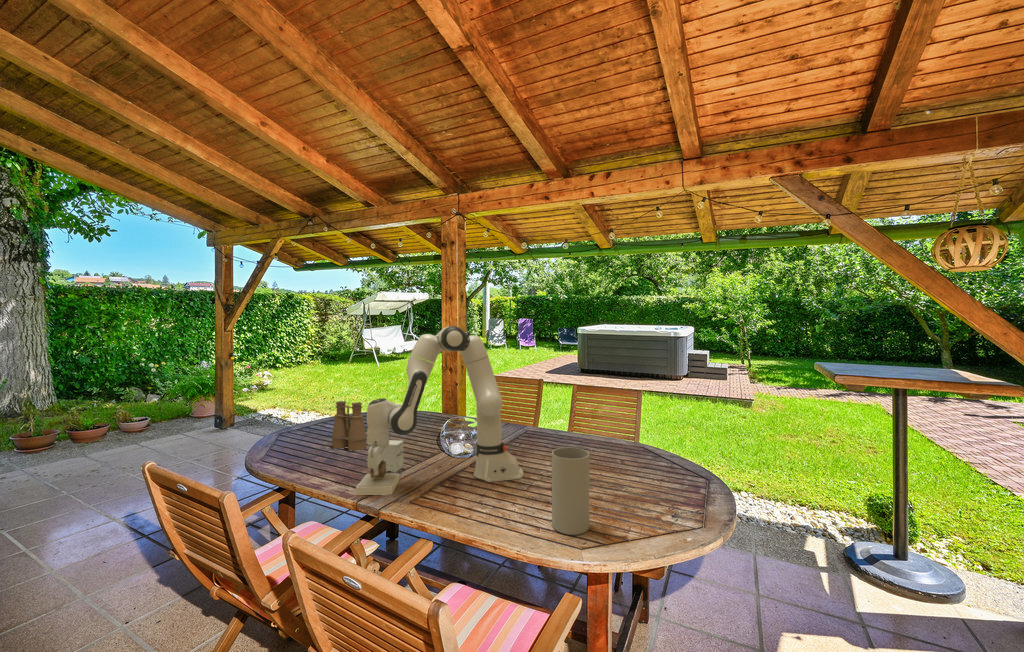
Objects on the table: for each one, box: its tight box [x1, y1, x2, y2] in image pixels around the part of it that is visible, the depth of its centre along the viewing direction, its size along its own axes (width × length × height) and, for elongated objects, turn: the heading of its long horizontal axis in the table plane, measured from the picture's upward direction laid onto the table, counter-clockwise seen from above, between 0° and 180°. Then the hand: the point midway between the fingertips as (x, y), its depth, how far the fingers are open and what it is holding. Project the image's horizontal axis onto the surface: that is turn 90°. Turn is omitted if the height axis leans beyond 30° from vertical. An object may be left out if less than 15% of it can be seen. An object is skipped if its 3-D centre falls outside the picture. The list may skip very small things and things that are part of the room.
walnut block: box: [370, 461, 387, 478], centre depth 174 cm, size 5×5×5 cm
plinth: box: [355, 472, 400, 496], centre depth 174 cm, size 14×14×4 cm
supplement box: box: [384, 439, 404, 473], centre depth 197 cm, size 7×7×13 cm
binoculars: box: [330, 400, 367, 451], centre depth 229 cm, size 21×10×25 cm, turn 70°
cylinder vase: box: [551, 446, 590, 536], centre depth 142 cm, size 12×12×25 cm
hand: (378, 471), depth 174 cm, fingers closed on walnut block, 5 cm apart
